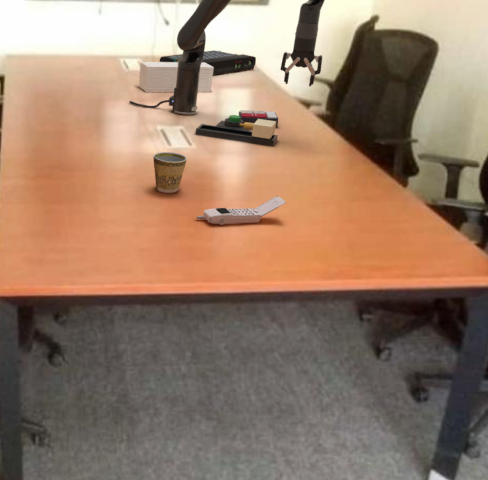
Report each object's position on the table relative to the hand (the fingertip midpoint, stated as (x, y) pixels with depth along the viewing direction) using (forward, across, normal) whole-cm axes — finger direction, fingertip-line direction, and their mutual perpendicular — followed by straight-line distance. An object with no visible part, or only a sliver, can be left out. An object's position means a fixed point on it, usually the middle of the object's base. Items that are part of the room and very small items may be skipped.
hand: (298, 84), depth 278 cm
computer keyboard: (+19, +56, -125) cm, 139 cm away
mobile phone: (+21, +4, +92) cm, 94 cm away
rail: (+20, +20, +4) cm, 29 cm away
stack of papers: (+20, +60, -66) cm, 92 cm away
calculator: (+20, +15, -23) cm, 34 cm away
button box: (+20, +23, -9) cm, 32 cm away
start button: (+17, +23, -9) cm, 30 cm away
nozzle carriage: (+19, +13, +4) cm, 23 cm away
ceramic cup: (+21, +29, +74) cm, 82 cm away
